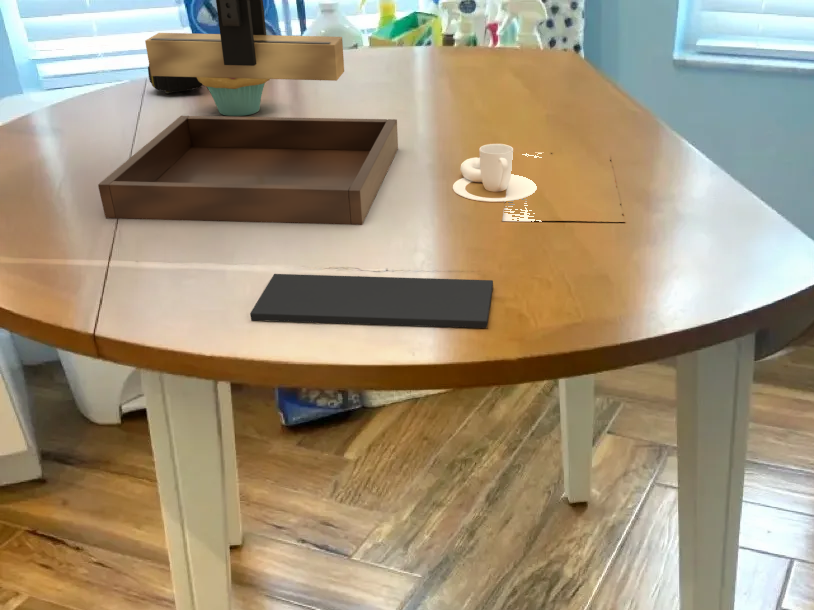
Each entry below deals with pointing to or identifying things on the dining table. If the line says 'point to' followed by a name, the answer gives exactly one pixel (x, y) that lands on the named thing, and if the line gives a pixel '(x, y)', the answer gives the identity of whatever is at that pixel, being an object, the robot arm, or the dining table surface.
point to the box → (255, 171)
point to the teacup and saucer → (496, 178)
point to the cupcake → (235, 94)
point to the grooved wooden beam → (272, 54)
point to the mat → (375, 301)
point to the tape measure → (173, 83)
